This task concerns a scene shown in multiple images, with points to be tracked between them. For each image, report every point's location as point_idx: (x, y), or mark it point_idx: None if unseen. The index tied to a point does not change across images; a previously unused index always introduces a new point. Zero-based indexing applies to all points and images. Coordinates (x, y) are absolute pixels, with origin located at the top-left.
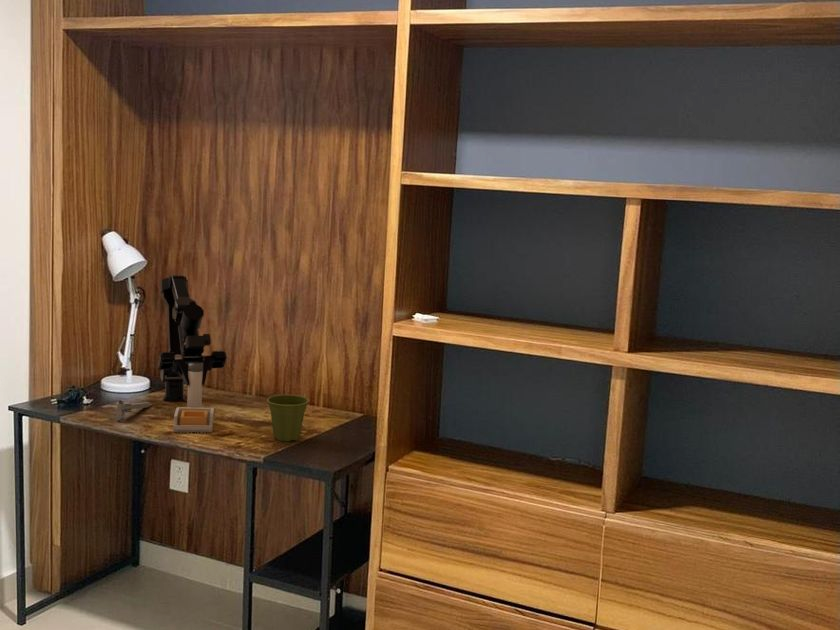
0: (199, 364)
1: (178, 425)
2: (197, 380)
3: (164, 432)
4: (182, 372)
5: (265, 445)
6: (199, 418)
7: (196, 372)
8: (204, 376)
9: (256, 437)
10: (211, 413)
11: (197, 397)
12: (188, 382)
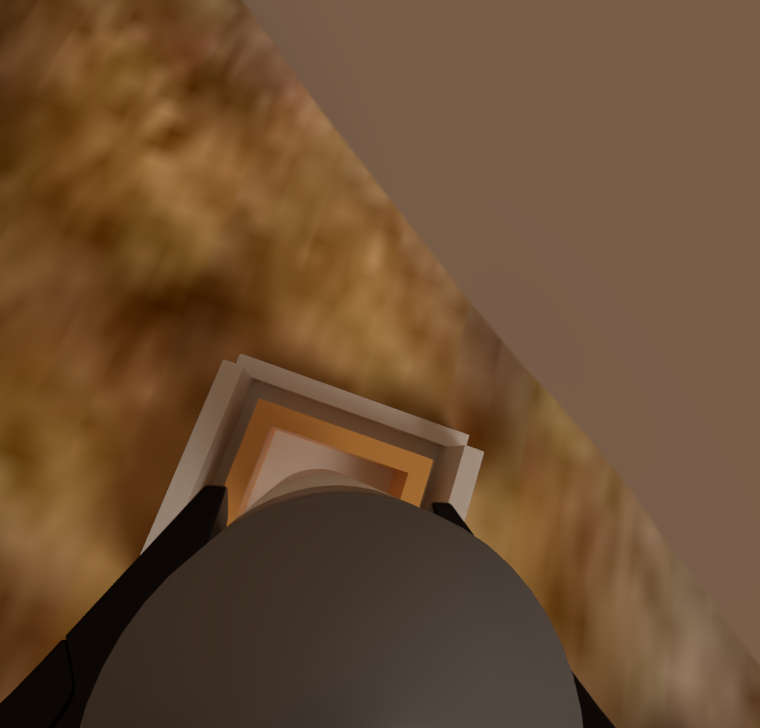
0: (260, 577)
1: (439, 430)
2: (322, 477)
3: (500, 458)
4: (581, 706)
5: (52, 48)
6: (307, 415)
7: (354, 485)
8: (160, 570)
9: (26, 191)
10: (197, 450)
11: (311, 471)
12: (444, 513)
